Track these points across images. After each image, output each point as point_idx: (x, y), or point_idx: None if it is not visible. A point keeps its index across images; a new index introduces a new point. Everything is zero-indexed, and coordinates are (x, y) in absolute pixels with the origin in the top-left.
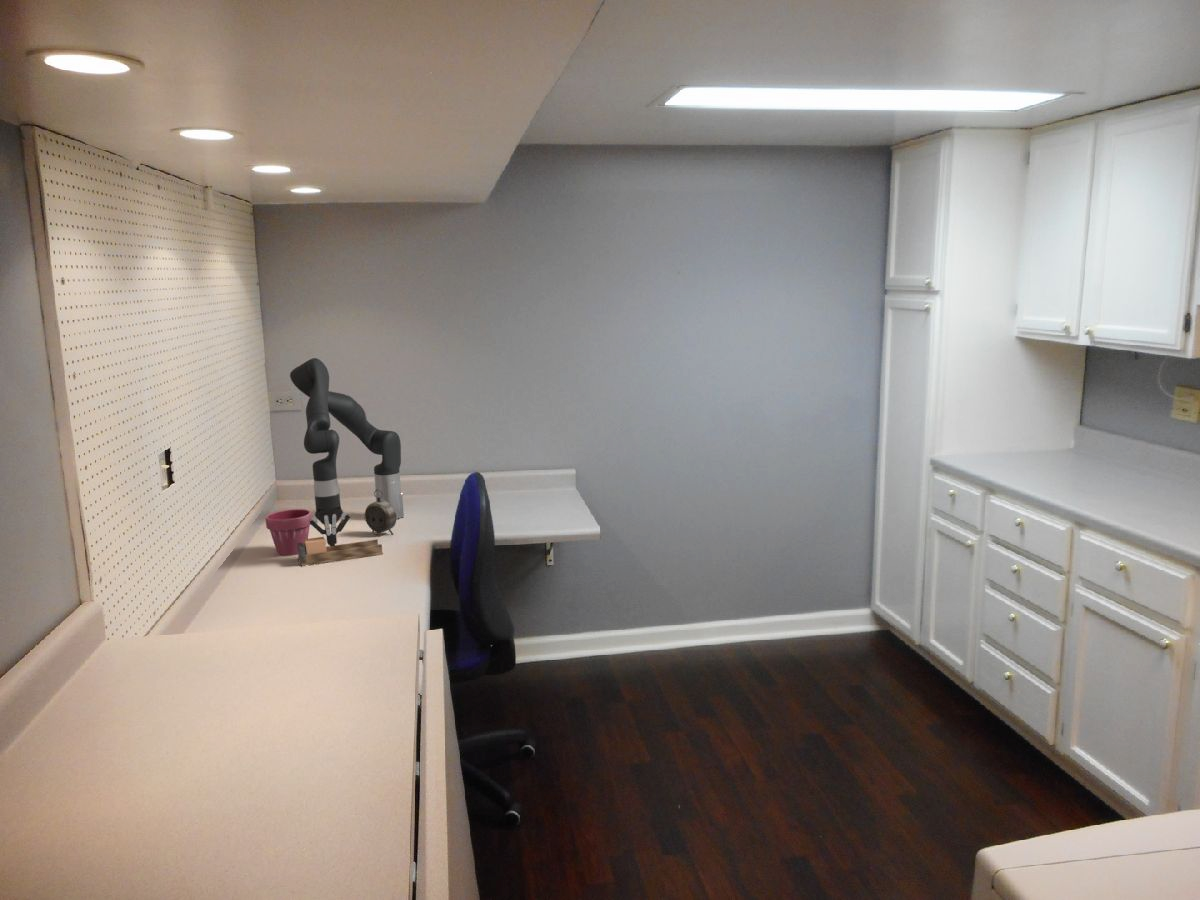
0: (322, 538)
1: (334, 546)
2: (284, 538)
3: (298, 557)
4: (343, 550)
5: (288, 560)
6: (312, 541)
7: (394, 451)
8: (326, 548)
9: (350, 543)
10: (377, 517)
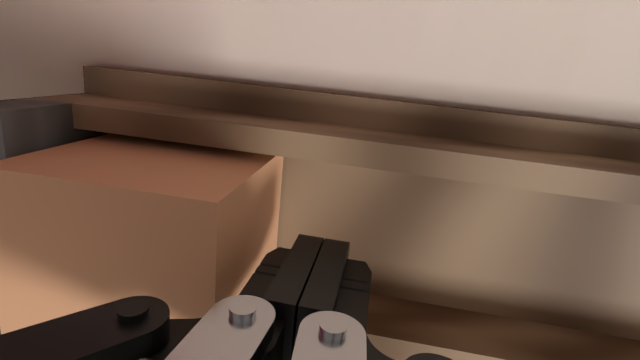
0: (192, 282)
1: (372, 167)
2: None
3: (80, 94)
4: (399, 358)
5: (24, 60)
6: None
7: None
8: (292, 153)
9: (560, 181)
10: None
